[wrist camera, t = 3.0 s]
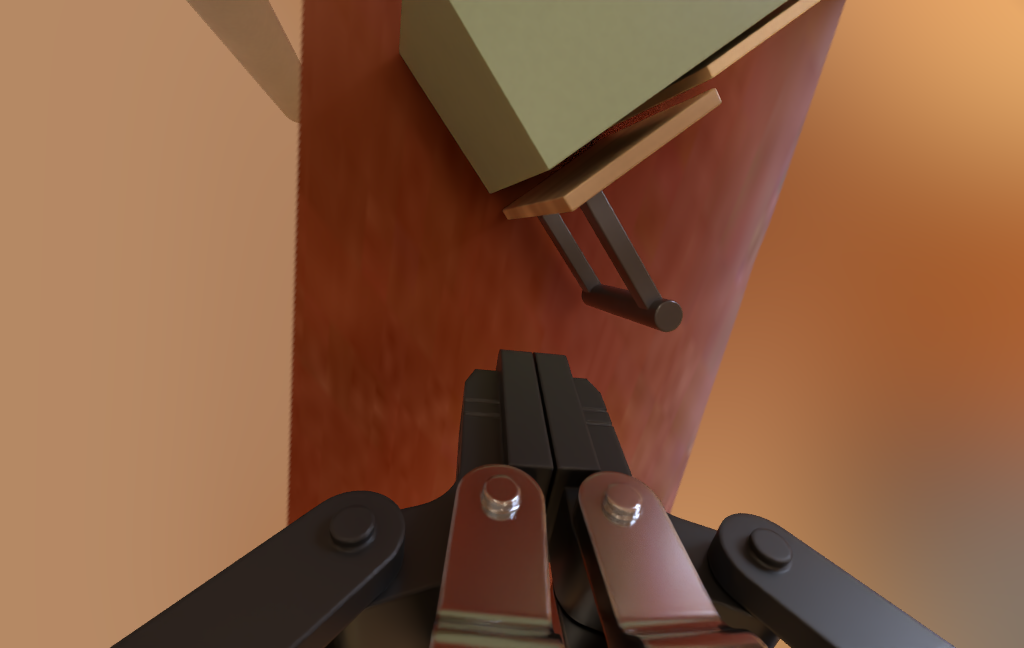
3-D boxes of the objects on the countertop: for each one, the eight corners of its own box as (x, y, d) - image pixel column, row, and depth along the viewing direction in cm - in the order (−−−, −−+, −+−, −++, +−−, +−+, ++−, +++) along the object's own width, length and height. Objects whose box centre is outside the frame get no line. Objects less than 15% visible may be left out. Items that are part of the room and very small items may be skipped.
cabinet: (398, 52, 28) (405, -73, 17) (625, -96, 30) (772, -300, 18) (497, 205, 31) (559, 188, 20) (696, 64, 33) (858, -26, 22)
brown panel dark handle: (501, 210, 31) (564, 196, 20) (604, 137, 32) (719, 85, 21) (565, 310, 34) (653, 347, 23) (659, 239, 35) (787, 242, 23)
